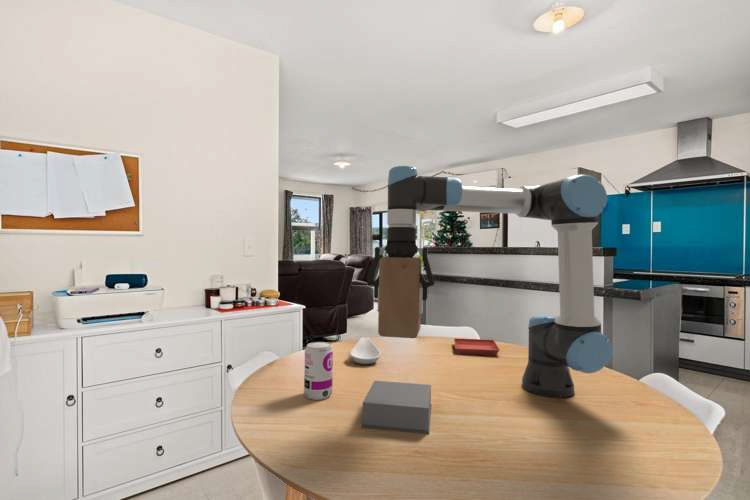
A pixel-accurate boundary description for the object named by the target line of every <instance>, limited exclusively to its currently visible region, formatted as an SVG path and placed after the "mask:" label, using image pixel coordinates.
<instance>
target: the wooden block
mask: <svg viewBox="0 0 750 500" xmlns="http://www.w3.org/2000/svg"><path fill="white" fill-rule="evenodd" d="M422 261H423V260H422V258H421V257H420V258H419V257H415V256H413V258H400V257H389V256H385V257H381V258H380V261H379V264H378V268H379V269H378V276H379V312H378V313H377V314H378V319H377V320H378V324H377V328H378V329H377V333H378V335H379V336H380V337H383V338H385V337H386V338H402V339H416V338H417V337H418V335H419V333H420V330H421V324H422V323H421V322H422V321H421V320H422V319H421V316H422V314H419V290H420V287H422V285H421V283H420V272H421V273H422Z"/></svg>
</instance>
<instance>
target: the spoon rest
mask: <svg viewBox="0 0 750 500" xmlns="http://www.w3.org/2000/svg"><path fill="white" fill-rule="evenodd" d="M381 354H382V353H381V351H380V350H379V348H378V347H377V346H376V345H375V343H374V342H373V341H372V340H371V339H370V337H369V336H367V337H363V336H362V337H360V339H359V340H358V341H357V343H355V345H354V346H353V347H352V349H351V350H350V352H349V356H350V357H351V358H350V359H352V361H354V362H355V363H357V364H360V365H371V364H374V363H376V362H377V361H378V360H379V359H380V357H381Z"/></svg>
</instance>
